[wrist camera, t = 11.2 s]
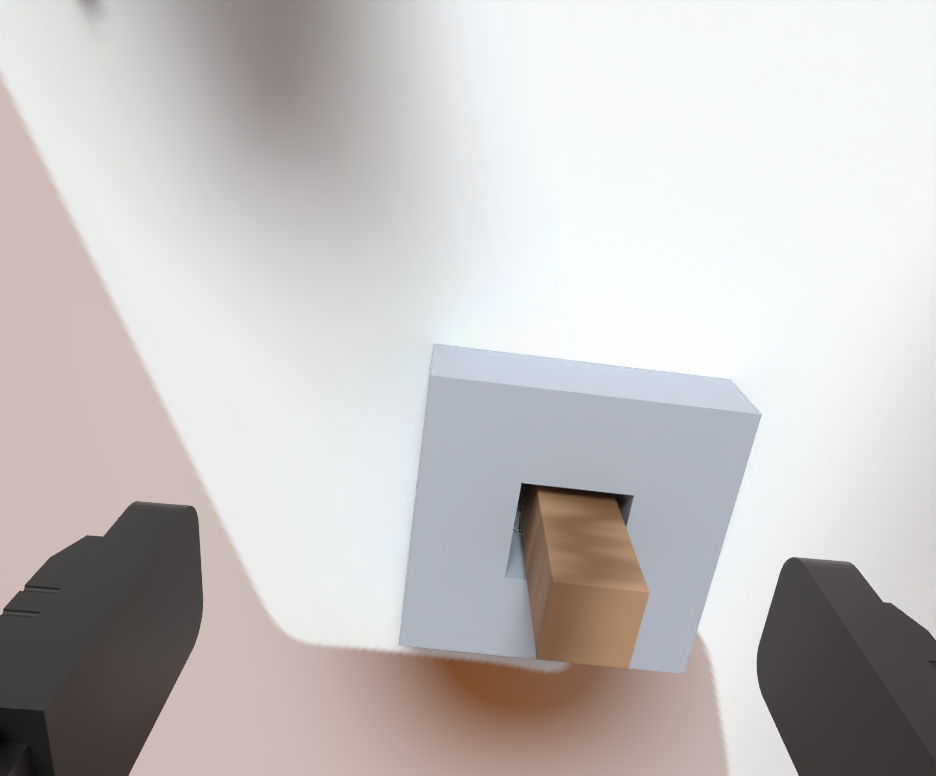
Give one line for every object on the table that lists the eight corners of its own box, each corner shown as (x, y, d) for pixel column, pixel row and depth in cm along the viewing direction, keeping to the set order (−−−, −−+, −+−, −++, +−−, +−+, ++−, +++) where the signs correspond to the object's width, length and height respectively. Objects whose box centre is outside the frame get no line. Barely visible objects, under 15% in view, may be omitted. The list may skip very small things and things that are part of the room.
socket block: (730, 379, 35) (761, 414, 31) (663, 619, 40) (683, 674, 37) (433, 343, 34) (430, 375, 31) (404, 593, 40) (398, 645, 36)
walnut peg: (603, 465, 37) (649, 592, 28) (589, 527, 38) (628, 669, 29) (531, 456, 37) (553, 581, 27) (519, 518, 38) (536, 659, 29)
